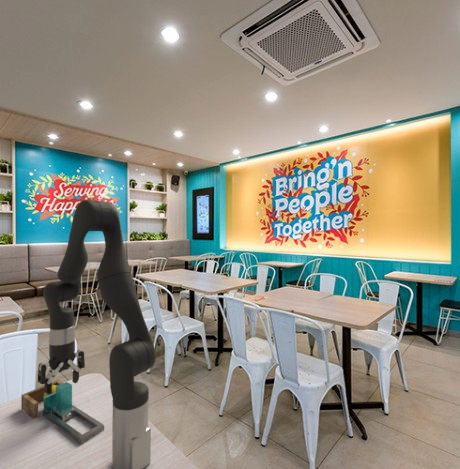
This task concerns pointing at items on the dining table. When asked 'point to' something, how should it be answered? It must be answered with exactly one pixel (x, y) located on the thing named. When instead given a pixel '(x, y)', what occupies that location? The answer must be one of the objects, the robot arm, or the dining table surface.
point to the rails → (71, 431)
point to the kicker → (60, 402)
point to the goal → (34, 400)
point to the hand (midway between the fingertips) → (62, 387)
